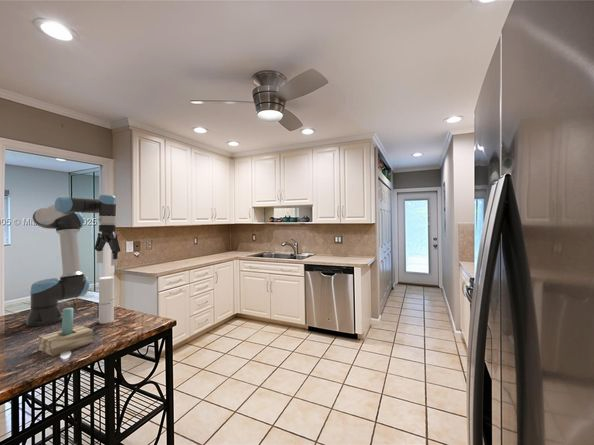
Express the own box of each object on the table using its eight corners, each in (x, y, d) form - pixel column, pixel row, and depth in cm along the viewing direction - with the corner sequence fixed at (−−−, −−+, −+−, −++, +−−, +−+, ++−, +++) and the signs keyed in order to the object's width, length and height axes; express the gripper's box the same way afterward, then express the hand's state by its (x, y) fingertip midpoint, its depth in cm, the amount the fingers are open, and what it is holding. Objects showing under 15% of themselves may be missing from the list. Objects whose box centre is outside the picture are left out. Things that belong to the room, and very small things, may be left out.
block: (39, 349, 130) (39, 336, 130) (79, 337, 144) (79, 325, 144) (52, 356, 125) (52, 342, 125) (93, 342, 139) (93, 329, 139)
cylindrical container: (116, 320, 169) (117, 277, 169) (104, 324, 162) (105, 279, 162) (107, 318, 171) (108, 276, 171) (95, 322, 165) (96, 278, 164)
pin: (59, 339, 134) (60, 309, 134) (69, 337, 137) (70, 307, 137) (64, 341, 132) (65, 310, 132) (74, 338, 135) (75, 308, 135)
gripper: (87, 223, 157) (86, 262, 158) (113, 225, 145) (113, 267, 146) (102, 223, 164) (101, 261, 164) (128, 224, 152) (127, 265, 152)
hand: (107, 264), depth 155 cm, fingers open, 13 cm apart
